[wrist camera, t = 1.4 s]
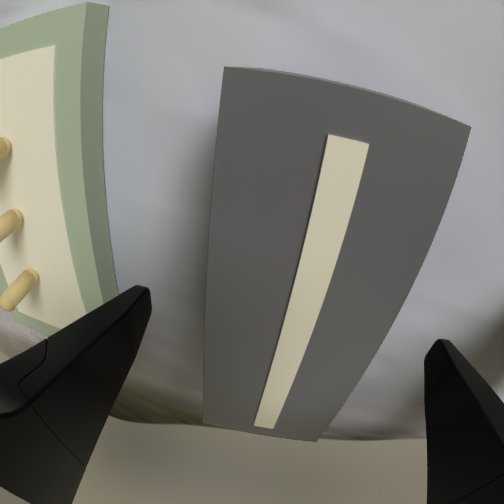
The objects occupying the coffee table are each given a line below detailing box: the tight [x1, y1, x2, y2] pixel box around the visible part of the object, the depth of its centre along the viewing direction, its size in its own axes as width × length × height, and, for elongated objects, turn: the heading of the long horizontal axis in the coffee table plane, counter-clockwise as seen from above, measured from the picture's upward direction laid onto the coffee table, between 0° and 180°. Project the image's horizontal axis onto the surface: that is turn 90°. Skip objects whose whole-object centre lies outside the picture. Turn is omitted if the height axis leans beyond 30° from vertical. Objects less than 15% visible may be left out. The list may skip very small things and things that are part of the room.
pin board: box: [0, 2, 119, 336], centre depth 12 cm, size 9×18×4 cm, turn 173°
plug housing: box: [203, 67, 471, 442], centre depth 11 cm, size 5×13×5 cm, turn 173°
